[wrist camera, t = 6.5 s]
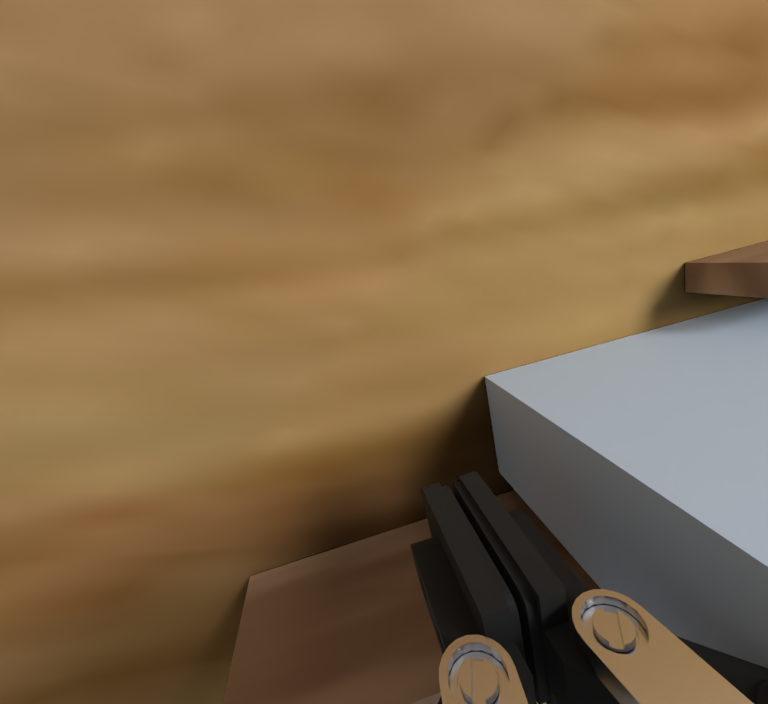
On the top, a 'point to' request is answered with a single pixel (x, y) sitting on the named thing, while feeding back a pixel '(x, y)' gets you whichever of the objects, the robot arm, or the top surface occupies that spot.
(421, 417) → the top surface
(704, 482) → the boxed book
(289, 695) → the book rack
